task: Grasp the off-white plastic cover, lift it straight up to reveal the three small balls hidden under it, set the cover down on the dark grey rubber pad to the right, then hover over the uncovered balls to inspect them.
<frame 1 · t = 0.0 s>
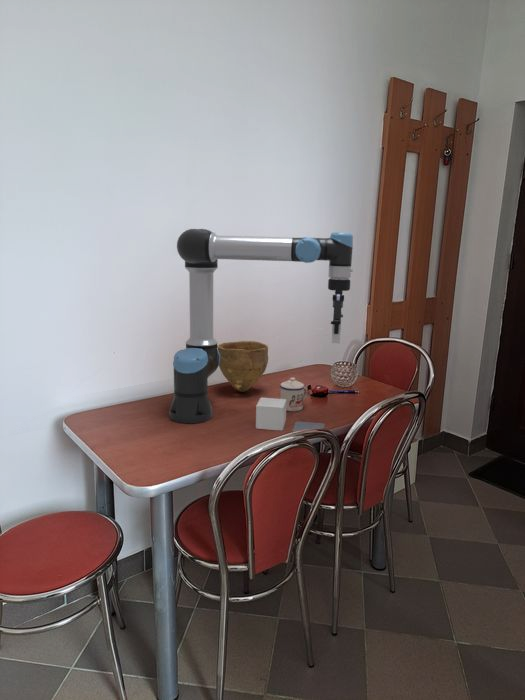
hand: (336, 339, 178), 28 cm above the table, fingers open, 13 cm apart
grey ball: (276, 423, 174), on the table
pad: (308, 428, 170), on the table
cover: (271, 424, 173), on the table
cork ball: (265, 426, 172), on the table
bowl: (242, 392, 208), on the table
teacup with lid: (294, 407, 191), on the table
teal ball: (266, 422, 175), on the table
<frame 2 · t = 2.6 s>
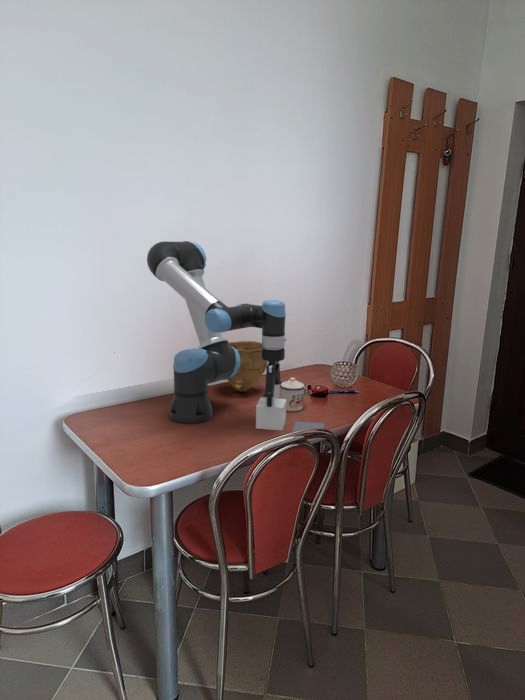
hand: (272, 408, 171), 6 cm above the table, fingers open, 13 cm apart
nothing on the table moved.
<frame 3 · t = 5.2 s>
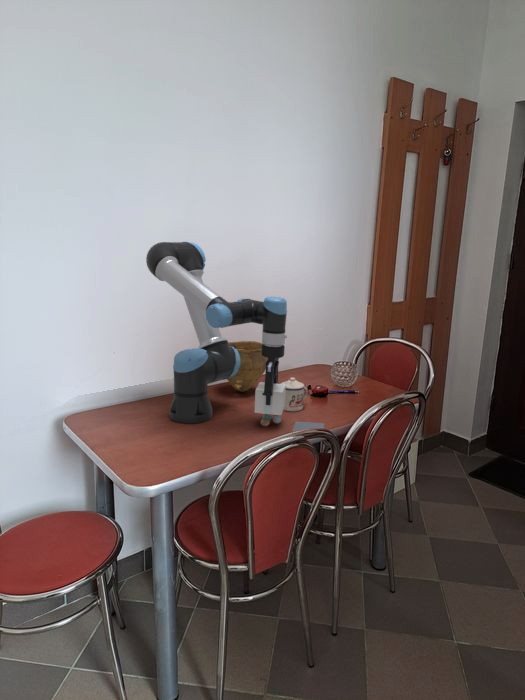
hand: (270, 408, 172), 6 cm above the table, fingers closed on cover, 9 cm apart
cover: (269, 409, 172), point 5 cm above the table, touching gripper
everything else where it was.
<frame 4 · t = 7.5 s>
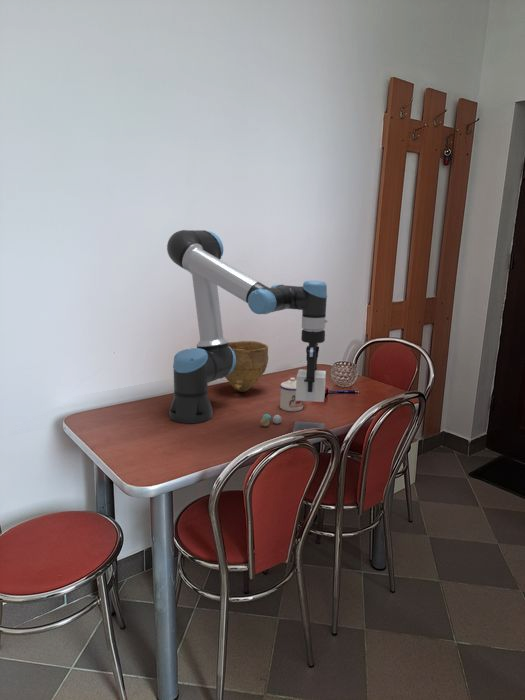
hand: (310, 396, 167), 12 cm above the table, fingers closed on cover, 9 cm apart
cover: (310, 396, 167), point 11 cm above the table, touching gripper
everything else where it was.
when the fingers open (1 cm above the table, at t = 9.8 s): cover stays where it is, resting on pad.
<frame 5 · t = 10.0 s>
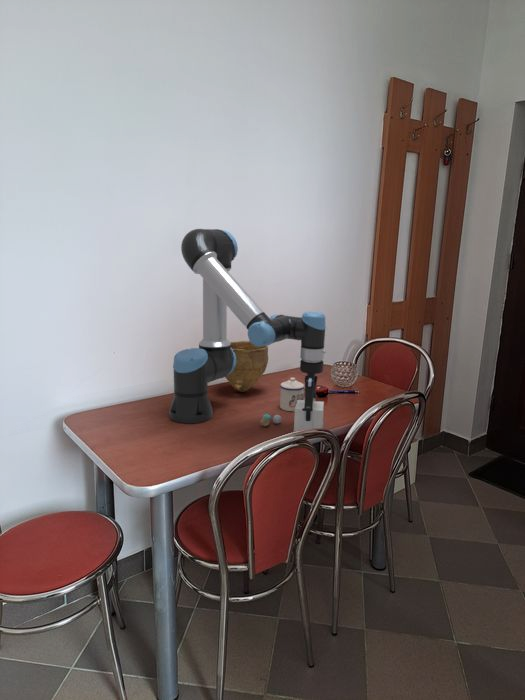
hand: (309, 422, 170), 2 cm above the table, fingers open, 11 cm apart
cover: (308, 427, 170), resting on pad
everything else where it was.
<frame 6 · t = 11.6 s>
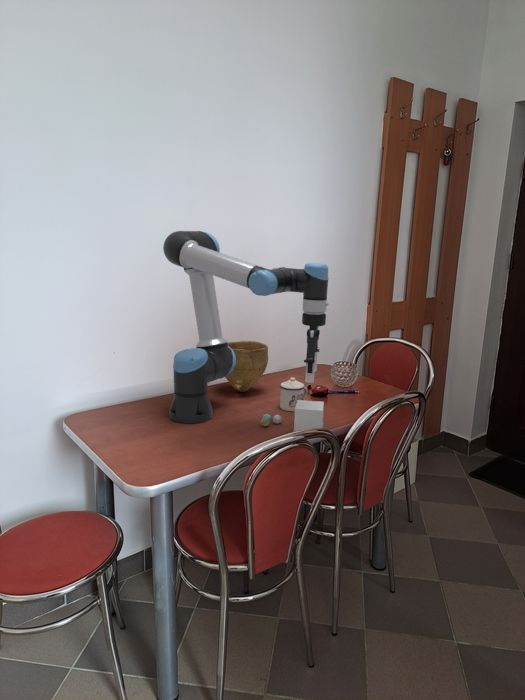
hand: (310, 376, 166), 18 cm above the table, fingers open, 13 cm apart
nothing on the table moved.
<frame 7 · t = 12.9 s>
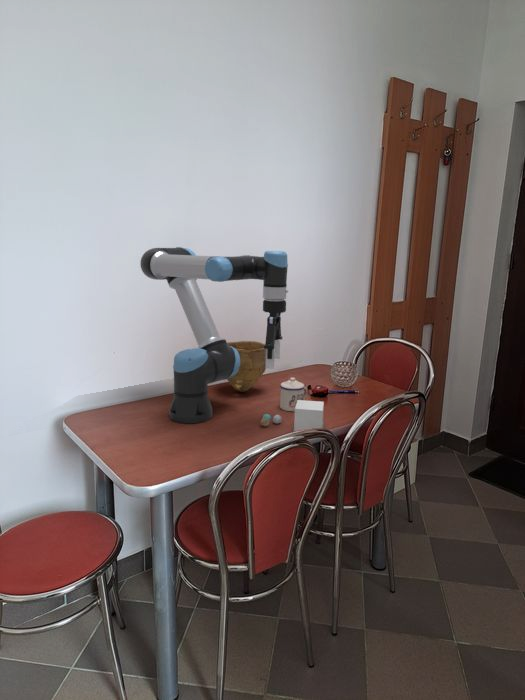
hand: (272, 363, 168), 22 cm above the table, fingers open, 13 cm apart
nothing on the table moved.
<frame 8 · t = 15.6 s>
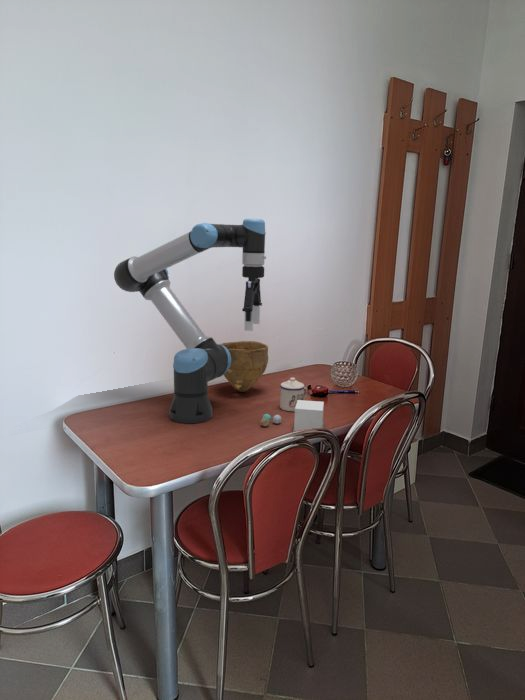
hand: (252, 327, 177), 32 cm above the table, fingers open, 13 cm apart
nothing on the table moved.
at the end: cover inside the target area on the pad (0.1 cm from its centre), point 0.4 cm above the pad's base; cover tilted 0°; the gripper is holding nothing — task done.
